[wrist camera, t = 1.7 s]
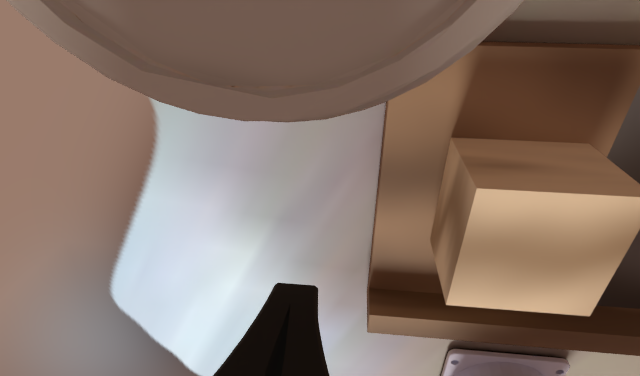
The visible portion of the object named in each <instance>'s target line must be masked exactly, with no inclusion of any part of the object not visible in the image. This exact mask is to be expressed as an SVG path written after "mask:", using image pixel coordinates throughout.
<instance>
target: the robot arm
mask: <svg viewBox="0 0 640 376" xmlns="http://www.w3.org/2000/svg"><path fill="white" fill-rule="evenodd" d="M569 368H570V365H569V363H568V361H567V360H566V359H563V358H554V357H542V356H531V355H520V354H508V353H497V352H486V351H474V350H463V349H452V350H450V351H449V352H448V354H447V357H446V361H445V364H444V368H443V371H442V374H441V376H565V375H566V373H567V371H568V370H569ZM213 376H329V373H328V369H327V365H326V361H325V356H324V352H323V347H322V341H321V336H320V330H319V323H318V288H317V287H316V286H312V285H299V284H286V283H277V284H276V285H275V286H274V288H273V290H272V292H271V294H270V295H269V297H268V299H267V301H266V302H265V304H264V306H263V308H262V309H261V311H260V312H259V314H258V316H257V317H256V319H255V320H254V322H253V323H252V325H251V326H250V328H249V329H248V331H247V332H246V334H245V335H244V336H243V338H242V339H241V341H240V342H239V343H238V345H237V346H236V347H235V349H234V350H233V351H232V353H231V354H230V355H229V357H228V358H227V359H226V361H225V362H224V363H223V364H222V366H221V367H220V368H219V369H218V370H217V372H216V373H215V374H214V375H213Z"/></svg>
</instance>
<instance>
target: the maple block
mask: <svg viewBox="0 0 640 376" xmlns="http://www.w3.org/2000/svg"><path fill="white" fill-rule="evenodd" d="M639 230H640V184H639V183H638V182H637V181H635V180H634V179H633V178H632V177H630V176H629V175H628V174H626V173H625V172H624V171H623V170H621V169H620V168H619V167H618V166H616V165H615V164H614V163H613V162H611V161H610V160H609V159H608V158H606V157H605V156H604V155H603V154H601V153H600V152H599V151H598V150H596V149H595V148H594V147H593V146H591V145H590V144H588V143H565V142H542V141H519V140H496V139H473V138H451V140H450V145H449V150H448V154H447V159H446V164H445V169H444V174H443V179H442V184H441V189H440V193H439V198H438V203H437V208H436V213H435V218H434V223H433V227H432V232H431V237H430V242H431V246H432V250H433V254H434V258H435V262H436V267H437V271H438V275H439V279H440V283H441V287H442V291H443V295H444V299H445V303H446V305H452V306H465V307H478V308H490V309H503V310H515V311H528V312H541V313H553V314H566V315H578V316H590V315H591V313H592V312H593V310H594V308H595V307H596V305H597V303H598V301H599V300H600V298H601V296H602V294H603V293H604V291H605V289H606V287H607V286H608V284H609V282H610V280H611V279H612V277H613V275H614V273H615V272H616V270H617V268H618V266H619V265H620V263H621V261H622V259H623V258H624V256H625V254H626V252H627V251H628V249H629V247H630V245H631V244H632V242H633V240H634V238H635V237H636V235H637V233H638V231H639Z"/></svg>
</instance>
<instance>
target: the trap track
mask: <svg viewBox="0 0 640 376" xmlns="http://www.w3.org/2000/svg"><path fill="white" fill-rule="evenodd" d="M451 138H473V139H496V140H519V141H542V142H565V143H588V144H590V145H591V146H593V147H594V148H595V149H596V150H598V151H599V152H600V153H601V154H603V155H604V156H605V157H606V158H608V159H609V160H610V161H611V162H613V163H614V164H615V165H616V166H618V167H619V168H620V169H621V170H623V171H624V172H625V173H626V174H628V175H629V176H630V177H632V178H633V179H634V180H635V181H637V182H638V183H639V184H640V45H613V44H570V43H527V42H484V41H482V42H481V43H480V44H478V45H477V46H476V47H475V48H474V49H473V50H472V51H471V52H469V53H468V54H466V55H465V56H463V57H462V58H461V59H459V60H458V61H456V62H455V63H453V64H452V65H450V66H449V67H448V68H446V69H445V70H443V71H442V72H440V73H439V74H438V75H436V76H435V77H433V78H432V79H430V80H429V81H428V82H426V83H424V84H422V85H420V86H418V87H416V88H414V89H412V90H410V91H408V92H406V93H404V94H401V95H399V96H397V97H395V98H393V99H391V100H389V101H387V102H386V110H385V120H384V130H383V140H382V150H381V159H380V169H379V179H378V189H377V199H376V209H375V218H374V228H373V238H372V248H371V258H370V268H369V277H368V287H367V332H370V333H381V334H393V335H404V336H416V337H427V338H439V339H451V340H462V341H474V342H485V343H497V344H508V345H520V346H532V347H543V348H555V349H566V350H578V351H589V352H601V353H613V354H624V355H636V356H640V230H639V231H638V233H637V235H636V237H635V238H634V240H633V242H632V244H631V245H630V247H629V249H628V251H627V252H626V254H625V256H624V258H623V259H622V261H621V263H620V265H619V266H618V268H617V270H616V272H615V273H614V275H613V277H612V279H611V280H610V282H609V284H608V286H607V287H606V289H605V291H604V293H603V294H602V296H601V298H600V300H599V301H598V303H597V305H596V307H595V308H594V310H593V312H592V313H591V315H590V316H578V315H566V314H553V313H541V312H528V311H515V310H503V309H490V308H478V307H465V306H452V305H446V303H445V299H444V295H443V291H442V287H441V283H440V279H439V275H438V271H437V267H436V262H435V258H434V254H433V250H432V246H431V242H430V237H431V232H432V227H433V223H434V218H435V213H436V208H437V203H438V198H439V193H440V189H441V184H442V179H443V174H444V169H445V164H446V159H447V154H448V150H449V145H450V140H451Z"/></svg>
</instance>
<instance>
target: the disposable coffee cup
mask: <svg viewBox="0 0 640 376" xmlns="http://www.w3.org/2000/svg"><path fill="white" fill-rule="evenodd" d="M7 1H8V2H9V3H10V4H11V5H12V6H13V7H14V8H15V9H16V10H17V11H18V12H19V13H20V14H21V15H23V16H24V17H25V18H26V19H27V20H28V21H30V22H31V23H32V24H33V25H34V26H36V27H37V28H38V29H39V30H40V31H41V32H43V33H44V34H45V35H46V36H47V37H49V38H50V39H51V40H52V41H53V42H55V43H56V44H58V45H59V46H61V47H62V48H64V49H65V50H67V51H68V52H70V53H71V54H73V55H74V56H76V57H77V58H79V59H80V60H82V61H84V62H85V63H86V64H88V65H90V66H91V67H92V68H94V69H95V70H97V71H99V72H100V73H101V74H103V75H105V76H106V77H108V78H109V79H112V80H114V81H116V82H118V83H120V84H122V85H125V86H127V87H129V88H131V89H133V90H135V91H138V92H140V93H142V94H144V95H146V96H148V97H151V98H153V99H155V100H157V101H159V102H162V103H165V104H169V105H172V106H175V107H179V108H182V109H185V110H188V111H192V112H195V113H198V114H204V115H210V116H216V117H222V118H229V119H235V120H241V121H272V122H297V121H310V120H322V119H329V118H333V117H337V116H341V115H345V114H349V113H353V112H357V111H361V110H365V109H367V108H370V107H373V106H376V105H379V104H381V103H384V102H387V101H389V100H391V99H393V98H395V97H397V96H399V95H401V94H404V93H406V92H408V91H410V90H412V89H414V88H416V87H418V86H420V85H422V84H424V83H426V82H428V81H429V80H430V79H432V78H433V77H435V76H436V75H438V74H439V73H440V72H442V71H443V70H445V69H446V68H448V67H449V66H450V65H452V64H453V63H455V62H456V61H458V60H459V59H461V58H462V57H463V56H465V55H466V54H468V53H469V52H471V51H472V50H473V49H474V48H475V47H476V46H477V45H478V44H480V43H481V42H482V41H483V40H484V39H485V38H486V37H487V36H488V35H489V34H490V33H491V32H492V31H494V30H495V29H496V28H497V27H498V26H499V25H500V24H501V23H502V22H503V21H504V20H505V19H506V18H507V17H509V16H510V15H511V14H512V13H513V12H514V11H515V10H516V9H517V8H518V7H519V5H520V4H521V3H522V2H523V0H7Z"/></svg>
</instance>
